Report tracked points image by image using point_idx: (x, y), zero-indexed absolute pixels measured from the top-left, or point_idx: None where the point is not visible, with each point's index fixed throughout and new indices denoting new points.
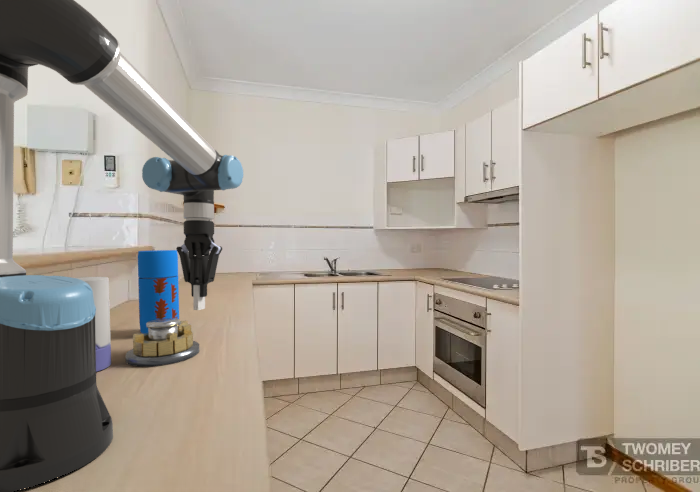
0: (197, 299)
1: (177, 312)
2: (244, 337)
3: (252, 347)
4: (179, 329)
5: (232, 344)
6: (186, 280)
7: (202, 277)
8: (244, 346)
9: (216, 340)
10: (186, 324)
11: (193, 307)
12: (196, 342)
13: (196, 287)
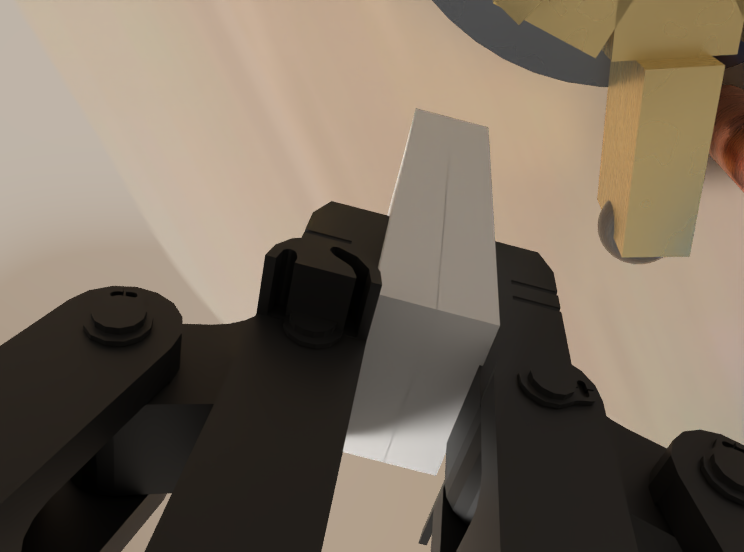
0: (417, 169)
1: None
2: (216, 259)
3: (31, 20)
4: (624, 36)
5: (214, 97)
6: (718, 454)
7: (216, 415)
8: (102, 46)
9: (379, 198)
10: (618, 218)
11: (488, 138)
12: (443, 2)
13: (422, 278)
